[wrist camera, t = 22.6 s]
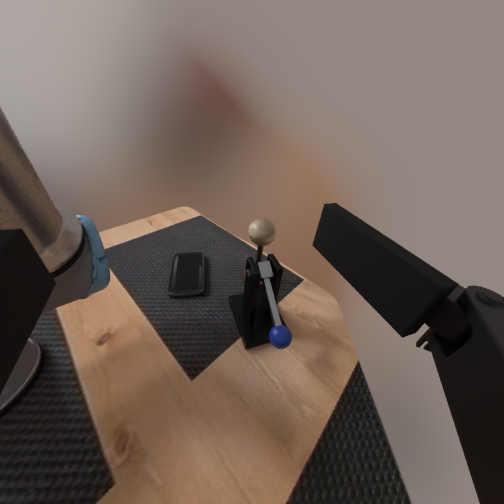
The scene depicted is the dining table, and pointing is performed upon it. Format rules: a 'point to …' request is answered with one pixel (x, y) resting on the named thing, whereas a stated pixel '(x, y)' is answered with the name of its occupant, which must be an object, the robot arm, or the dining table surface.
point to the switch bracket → (256, 304)
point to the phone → (187, 275)
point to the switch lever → (273, 309)
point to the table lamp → (261, 238)
